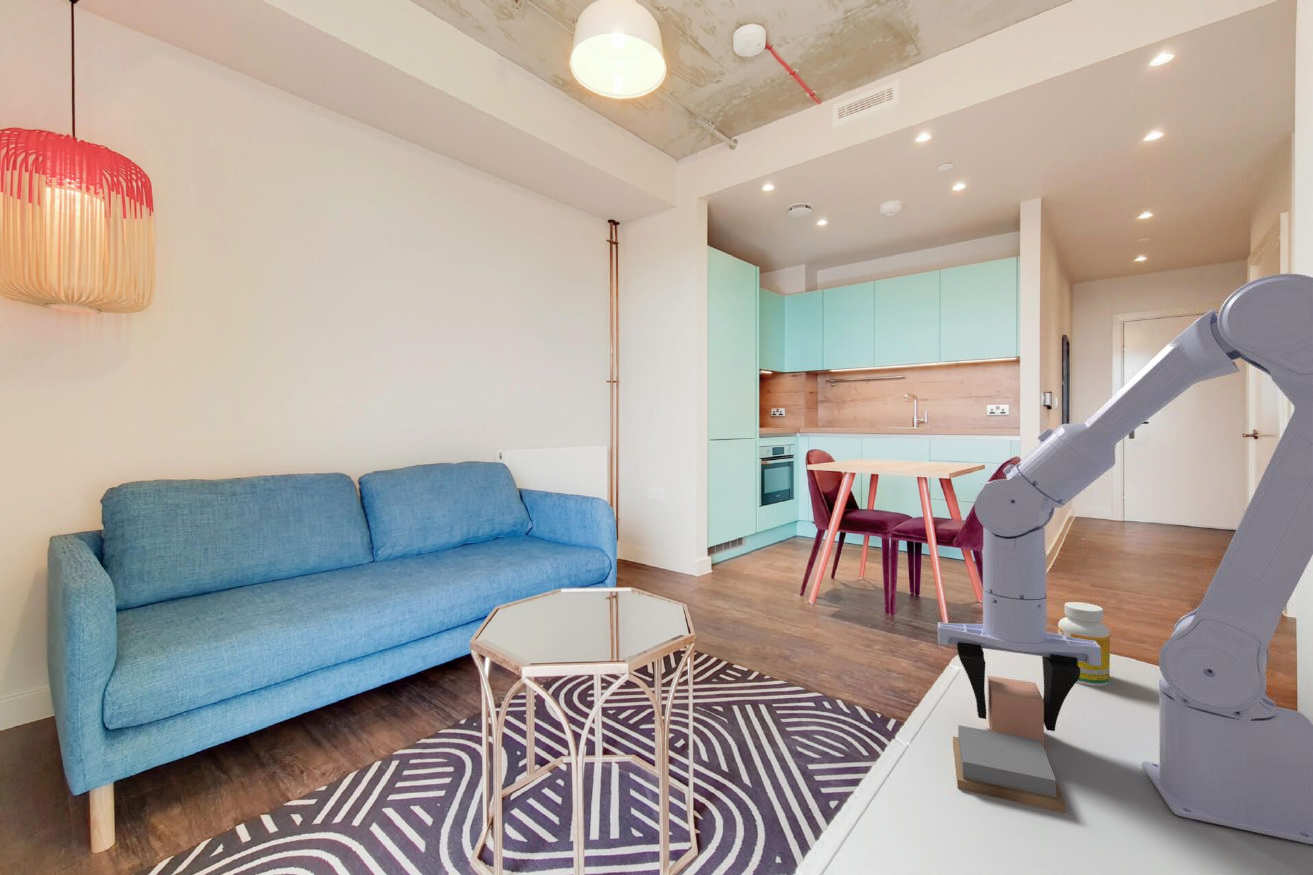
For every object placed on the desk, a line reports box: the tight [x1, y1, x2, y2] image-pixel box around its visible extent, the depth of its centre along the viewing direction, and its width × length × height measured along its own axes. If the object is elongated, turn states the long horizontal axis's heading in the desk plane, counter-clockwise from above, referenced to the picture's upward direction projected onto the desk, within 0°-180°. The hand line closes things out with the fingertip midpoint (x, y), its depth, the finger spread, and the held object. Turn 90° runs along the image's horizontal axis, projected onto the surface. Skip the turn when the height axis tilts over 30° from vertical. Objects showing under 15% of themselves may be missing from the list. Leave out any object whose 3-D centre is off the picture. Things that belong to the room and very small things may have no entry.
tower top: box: [957, 724, 1057, 798], centre depth 53 cm, size 7×7×2 cm
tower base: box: [952, 735, 1066, 814], centre depth 53 cm, size 8×8×2 cm
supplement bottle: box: [1057, 601, 1111, 687], centre depth 73 cm, size 5×5×10 cm
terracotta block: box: [987, 675, 1045, 749], centre depth 60 cm, size 4×4×5 cm
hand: (1014, 720), depth 60 cm, fingers open, 5 cm apart
